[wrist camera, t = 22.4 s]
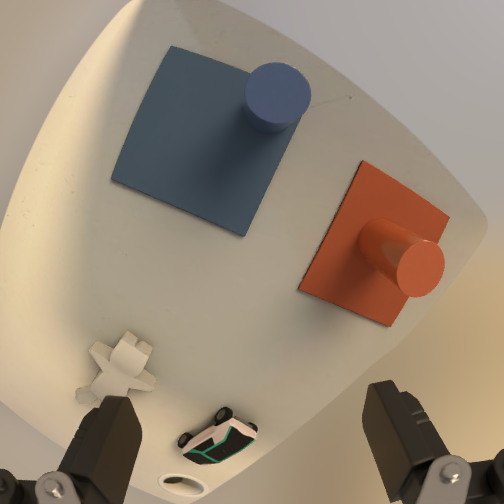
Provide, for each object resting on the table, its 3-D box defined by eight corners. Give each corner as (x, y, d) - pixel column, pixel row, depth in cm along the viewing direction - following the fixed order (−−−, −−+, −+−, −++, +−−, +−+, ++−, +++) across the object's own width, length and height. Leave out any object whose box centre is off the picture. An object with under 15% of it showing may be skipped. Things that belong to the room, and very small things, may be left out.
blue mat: (171, 46, 28) (171, 45, 27) (308, 101, 30) (309, 100, 29) (112, 178, 31) (110, 178, 31) (244, 235, 34) (244, 236, 33)
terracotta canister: (370, 210, 33) (415, 230, 23) (404, 230, 34) (453, 255, 24) (349, 252, 34) (386, 285, 24) (384, 269, 35) (426, 305, 25)
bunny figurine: (168, 372, 34) (120, 438, 35) (174, 351, 39) (127, 417, 40) (99, 327, 32) (62, 402, 33) (113, 311, 37) (74, 383, 38)
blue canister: (256, 80, 29) (261, 52, 20) (300, 101, 29) (321, 80, 21) (235, 122, 30) (232, 106, 21) (280, 142, 31) (294, 135, 22)
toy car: (259, 420, 41) (261, 447, 36) (207, 452, 43) (204, 477, 38) (229, 401, 40) (228, 428, 35) (178, 436, 42) (173, 461, 37)
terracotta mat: (361, 160, 32) (363, 160, 31) (448, 216, 34) (449, 217, 33) (298, 287, 36) (298, 289, 35) (389, 325, 37) (390, 327, 37)
